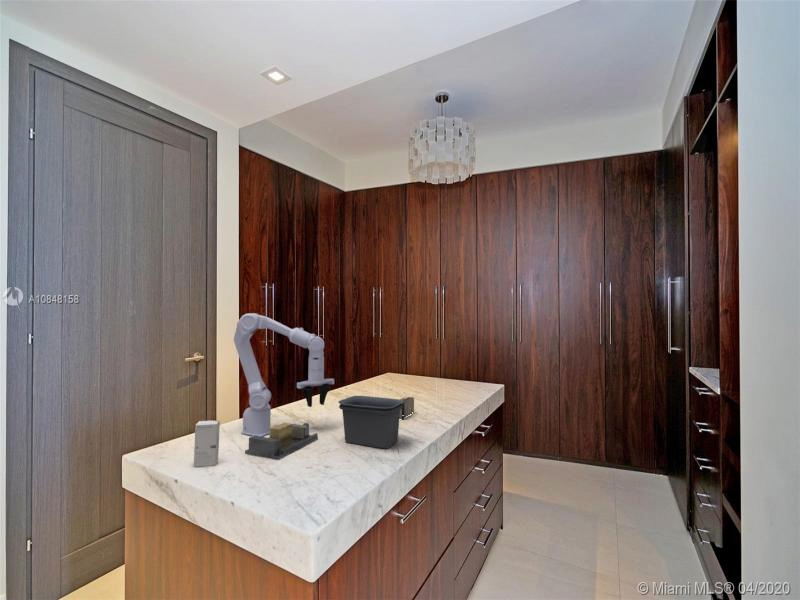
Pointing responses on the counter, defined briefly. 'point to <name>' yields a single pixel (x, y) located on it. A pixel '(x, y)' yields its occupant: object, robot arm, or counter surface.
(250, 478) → the counter surface
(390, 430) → the storage bin
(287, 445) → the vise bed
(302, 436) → the free jaw
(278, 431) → the brass block
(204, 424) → the skincare box
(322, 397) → the robot arm
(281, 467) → the counter surface
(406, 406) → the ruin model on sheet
